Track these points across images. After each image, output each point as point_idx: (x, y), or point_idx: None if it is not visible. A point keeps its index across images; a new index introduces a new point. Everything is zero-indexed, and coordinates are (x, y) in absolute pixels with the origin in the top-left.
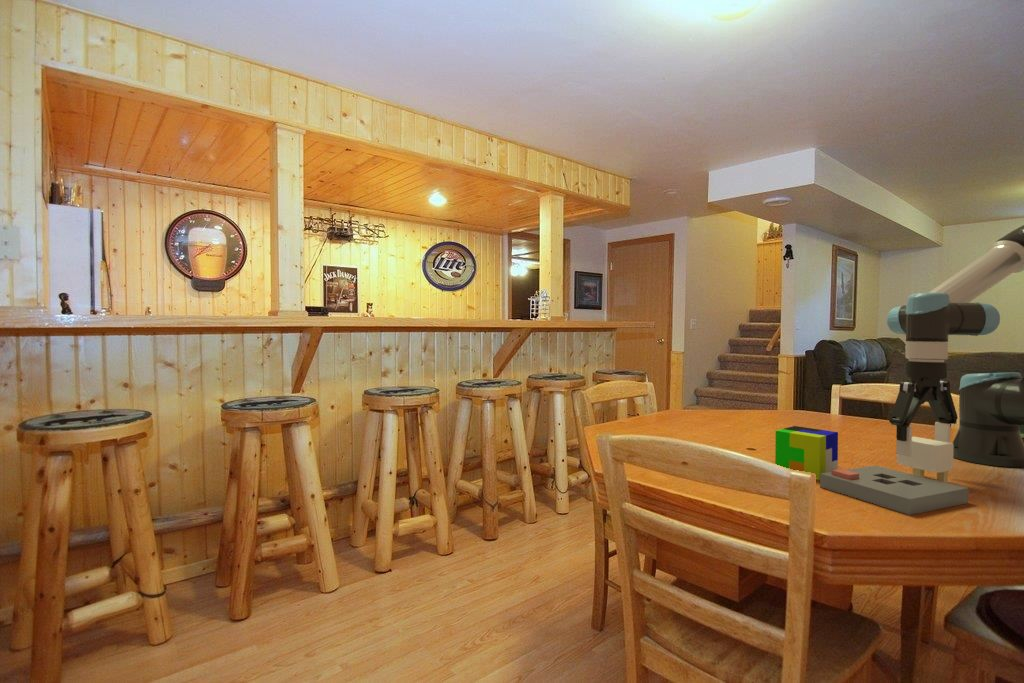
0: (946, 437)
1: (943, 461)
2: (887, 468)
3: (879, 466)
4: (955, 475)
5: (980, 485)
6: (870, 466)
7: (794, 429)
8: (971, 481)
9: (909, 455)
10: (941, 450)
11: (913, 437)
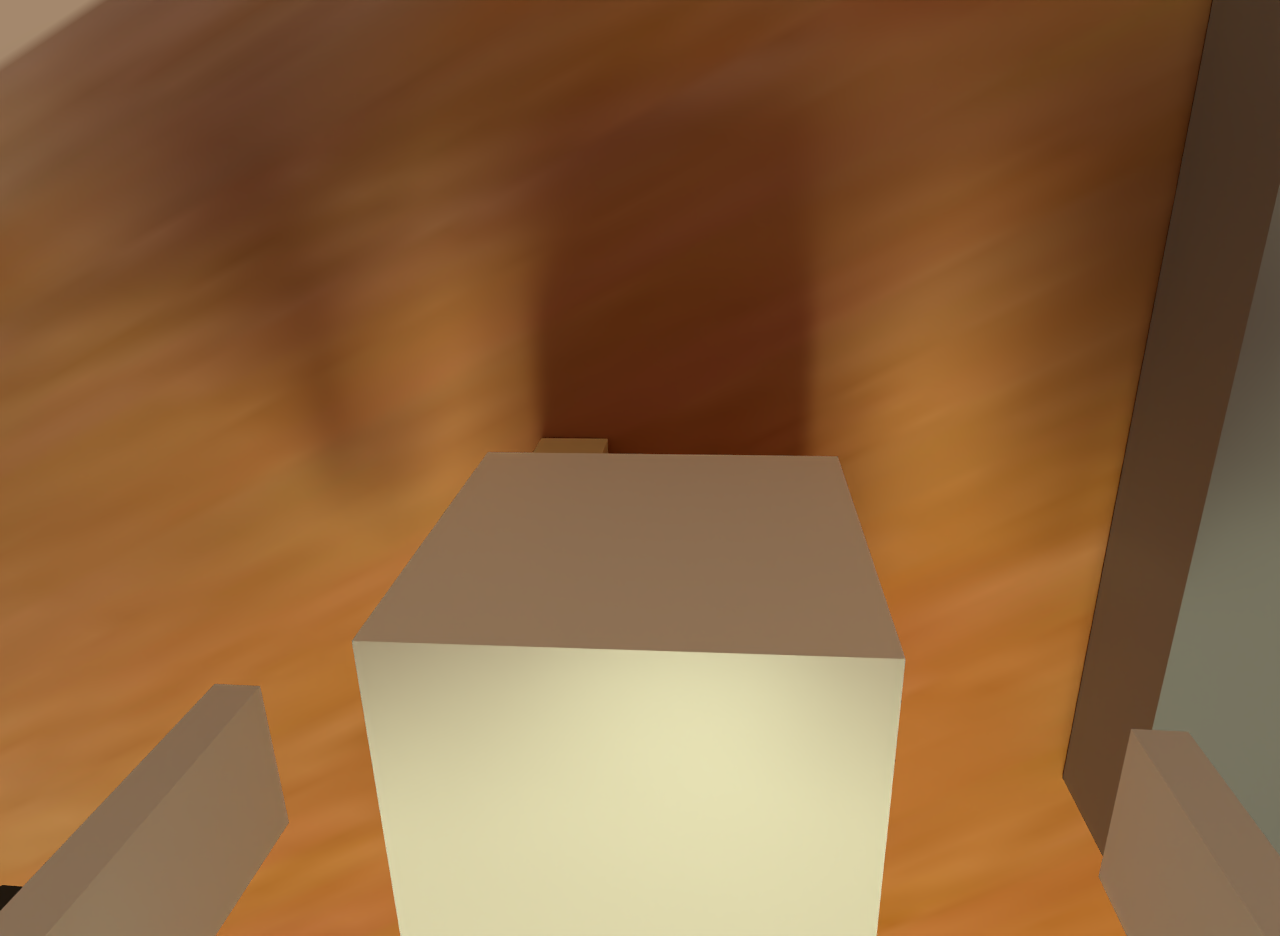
0: (122, 869)
1: (682, 508)
2: None
3: None
4: (203, 548)
5: (318, 247)
6: None
7: None
8: (259, 370)
9: (1187, 742)
10: (733, 597)
11: None
